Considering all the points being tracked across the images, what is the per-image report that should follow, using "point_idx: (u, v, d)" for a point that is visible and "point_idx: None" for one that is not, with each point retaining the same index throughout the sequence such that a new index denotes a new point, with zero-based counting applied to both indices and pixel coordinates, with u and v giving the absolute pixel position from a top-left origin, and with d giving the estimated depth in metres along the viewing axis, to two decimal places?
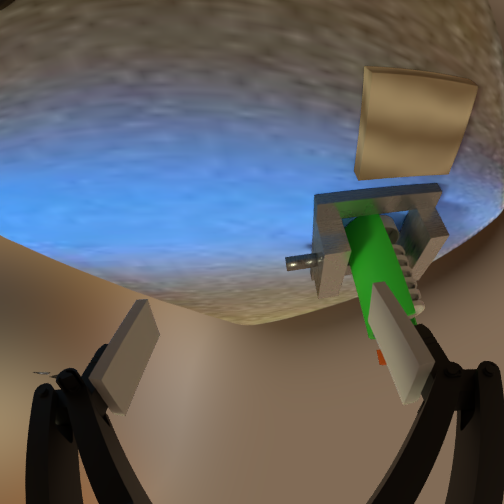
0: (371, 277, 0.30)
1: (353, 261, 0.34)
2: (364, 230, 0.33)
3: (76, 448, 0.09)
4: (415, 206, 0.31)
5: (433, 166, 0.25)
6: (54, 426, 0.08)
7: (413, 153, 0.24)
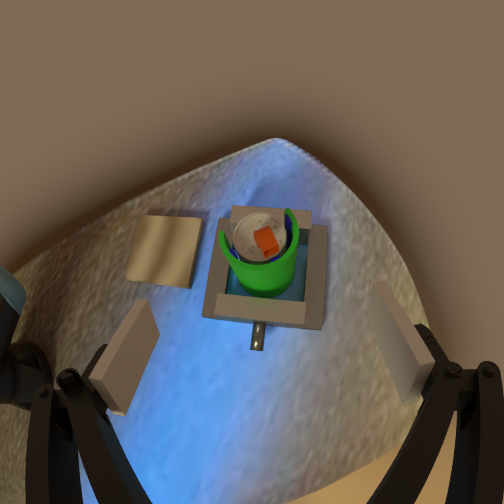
0: (236, 273, 0.37)
1: (252, 289, 0.40)
2: (238, 280, 0.43)
3: (76, 448, 0.09)
4: (229, 237, 0.46)
5: (191, 232, 0.47)
6: (54, 426, 0.08)
7: (176, 249, 0.46)
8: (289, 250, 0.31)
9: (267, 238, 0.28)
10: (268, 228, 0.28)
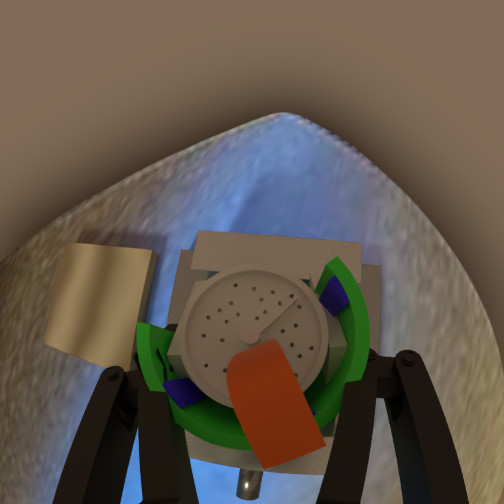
0: None
1: None
2: None
3: (133, 436, 0.10)
4: None
5: (133, 276, 0.25)
6: (115, 413, 0.09)
7: (110, 306, 0.25)
8: (342, 393, 0.09)
9: (282, 425, 0.06)
10: (287, 379, 0.06)
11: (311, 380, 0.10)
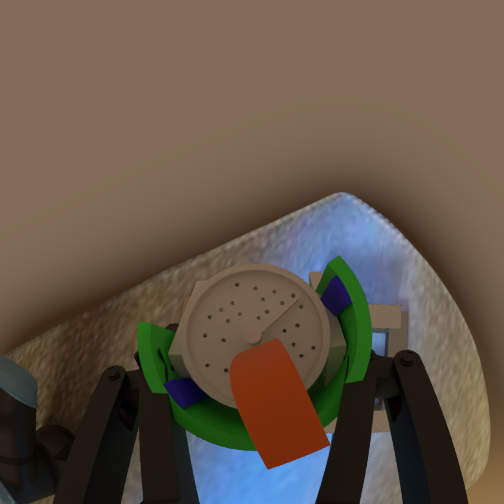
0: None
1: None
2: None
3: (134, 436, 0.10)
4: None
5: None
6: (116, 413, 0.09)
7: None
8: None
9: (286, 424, 0.06)
10: (291, 378, 0.06)
11: (313, 380, 0.10)
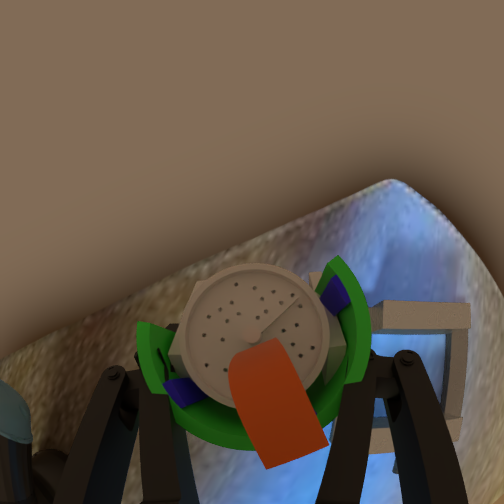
0: None
1: None
2: None
3: (134, 436, 0.10)
4: None
5: None
6: (116, 413, 0.09)
7: None
8: None
9: (285, 424, 0.06)
10: (290, 378, 0.06)
11: (312, 380, 0.10)
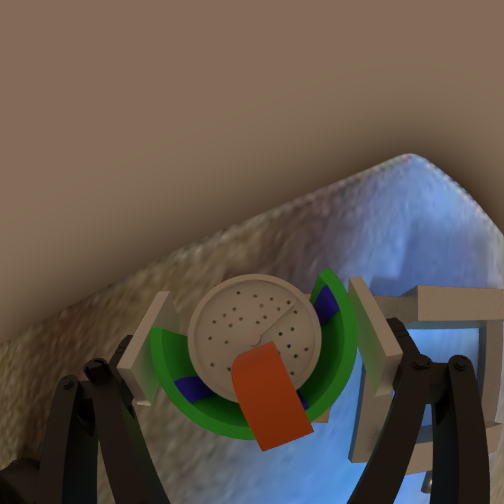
0: None
1: None
2: None
3: (96, 442, 0.09)
4: None
5: None
6: (75, 420, 0.08)
7: None
8: (332, 389, 0.10)
9: (277, 413, 0.07)
10: (281, 375, 0.07)
11: (306, 377, 0.12)
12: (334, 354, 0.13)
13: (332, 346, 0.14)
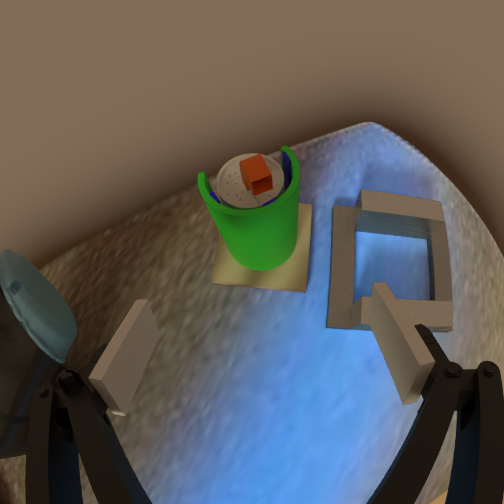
0: (222, 232, 0.29)
1: (243, 254, 0.32)
2: None
3: (76, 448, 0.09)
4: (350, 228, 0.37)
5: (301, 221, 0.38)
6: (54, 426, 0.08)
7: None
8: (288, 191, 0.23)
9: (256, 166, 0.20)
10: (258, 155, 0.20)
11: (276, 194, 0.25)
12: None
13: None
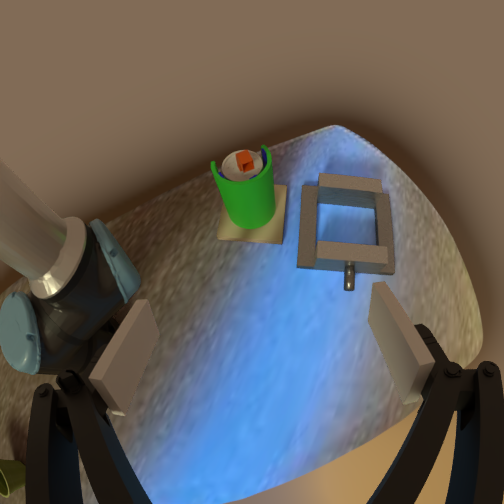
0: (225, 199, 0.46)
1: (239, 215, 0.48)
2: (228, 213, 0.52)
3: (76, 448, 0.09)
4: (313, 201, 0.53)
5: (278, 196, 0.54)
6: (54, 426, 0.08)
7: None
8: (263, 171, 0.40)
9: (244, 156, 0.36)
10: (246, 150, 0.37)
11: (257, 173, 0.41)
12: None
13: None
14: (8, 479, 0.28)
